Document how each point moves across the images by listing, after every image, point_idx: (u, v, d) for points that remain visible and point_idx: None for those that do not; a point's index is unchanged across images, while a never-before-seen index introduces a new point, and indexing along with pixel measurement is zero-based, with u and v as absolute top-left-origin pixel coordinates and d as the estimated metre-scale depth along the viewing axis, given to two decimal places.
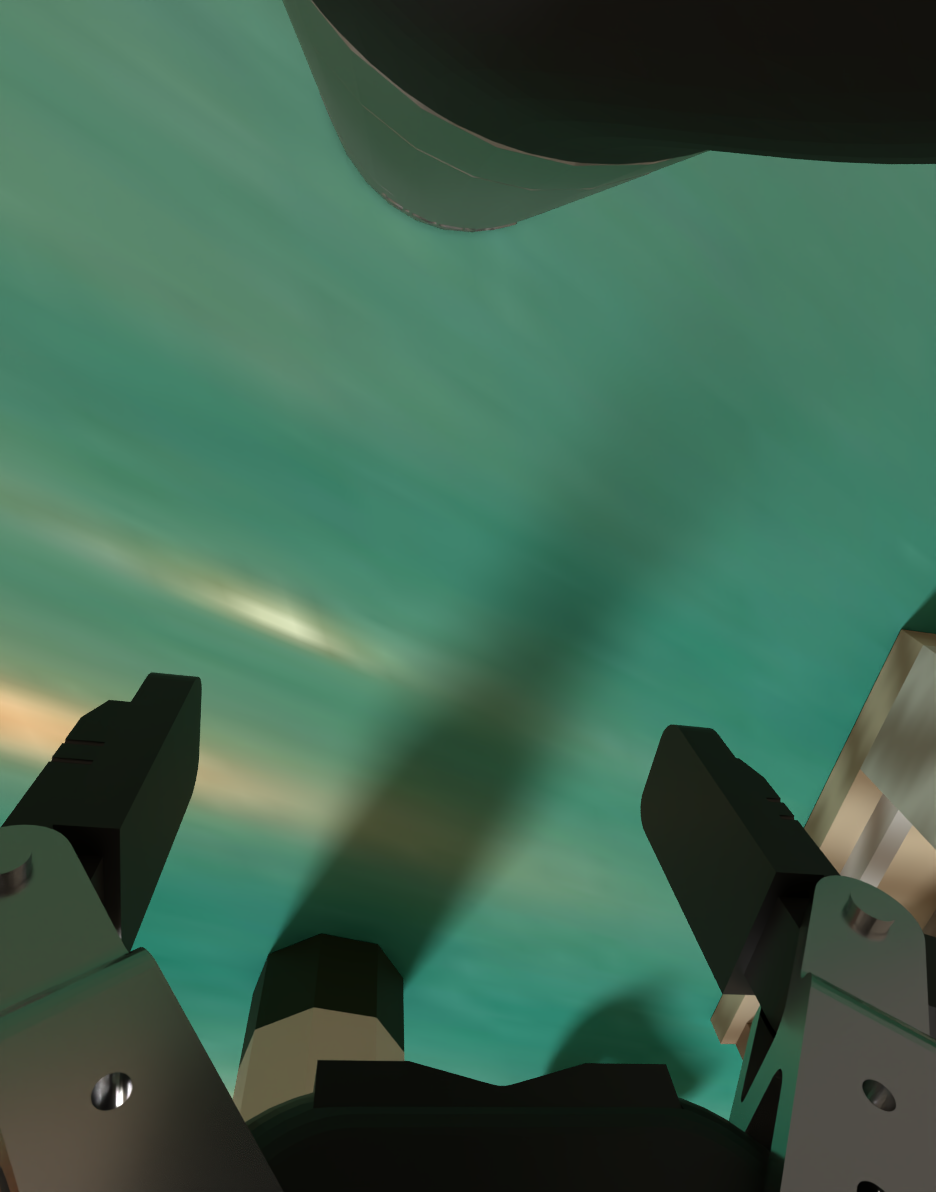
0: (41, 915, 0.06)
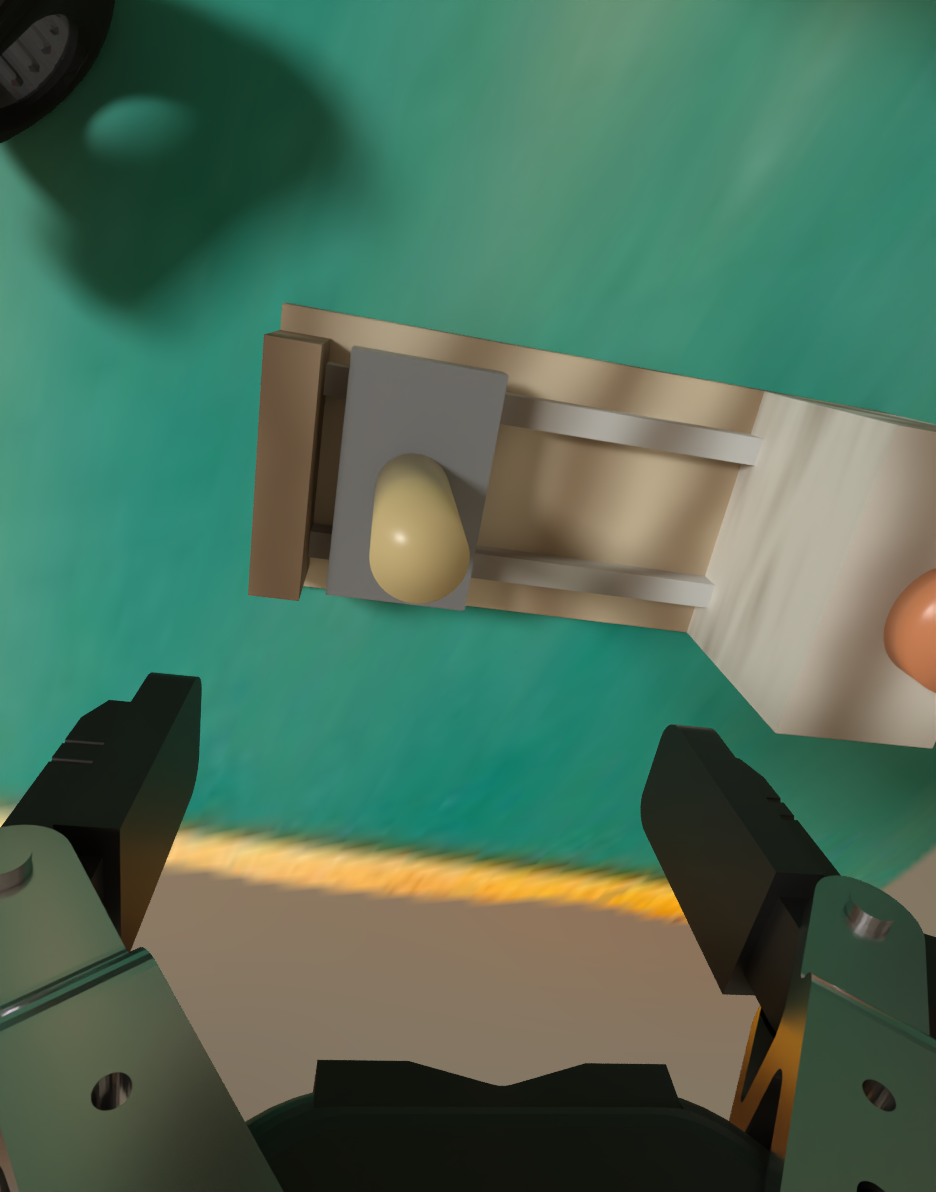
0: (41, 915, 0.06)
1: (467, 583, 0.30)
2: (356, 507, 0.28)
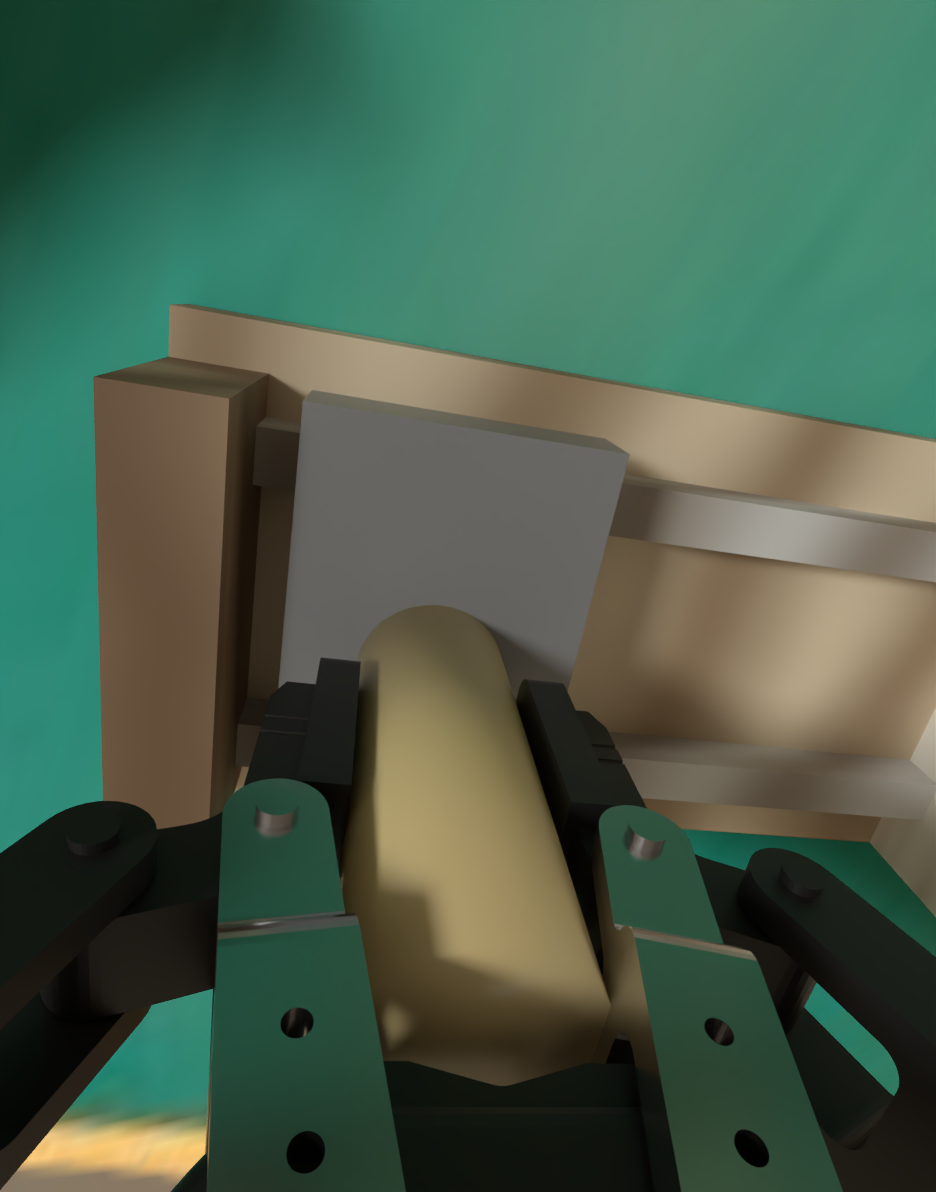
0: (293, 859, 0.08)
1: None
2: None
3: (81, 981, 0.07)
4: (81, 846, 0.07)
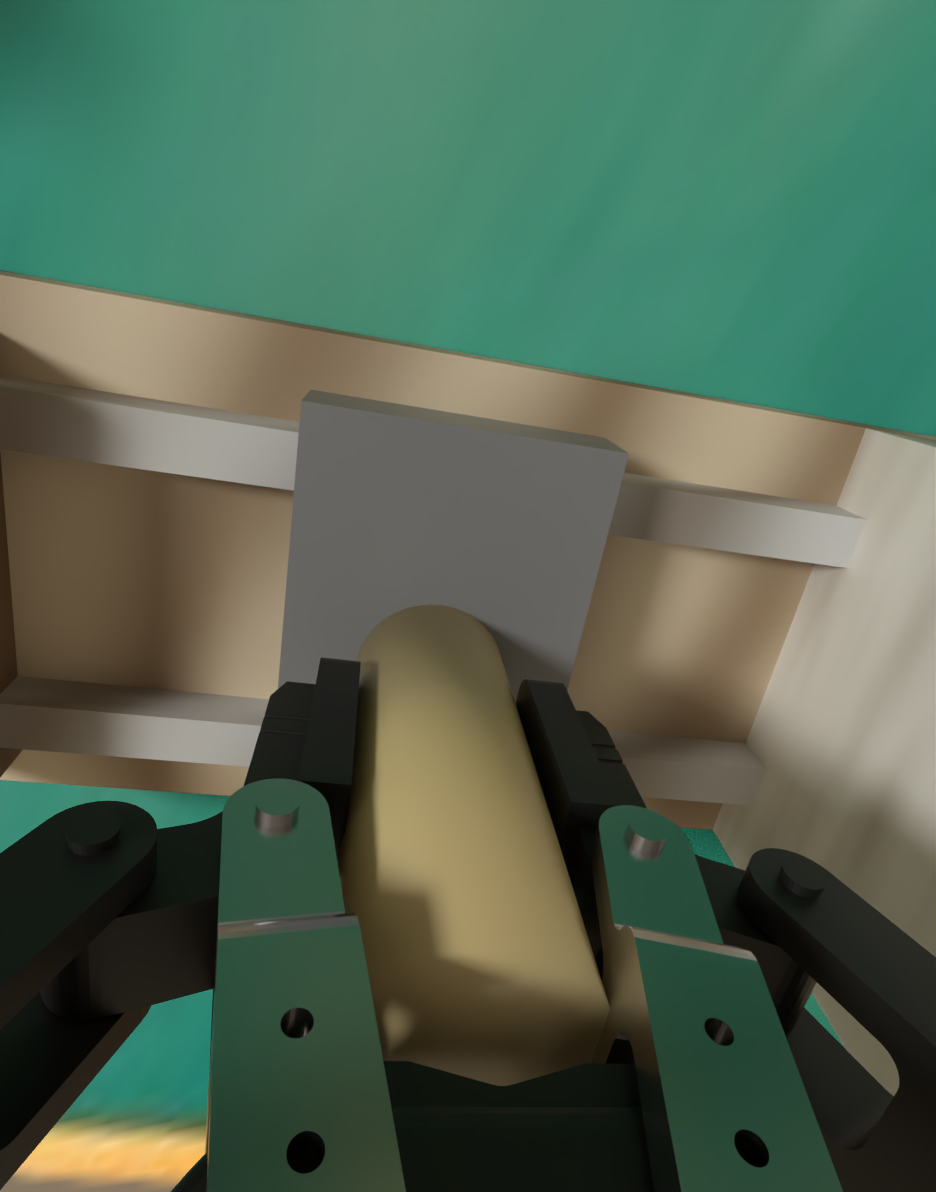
0: (293, 859, 0.08)
1: None
2: None
3: (81, 981, 0.07)
4: (81, 846, 0.07)
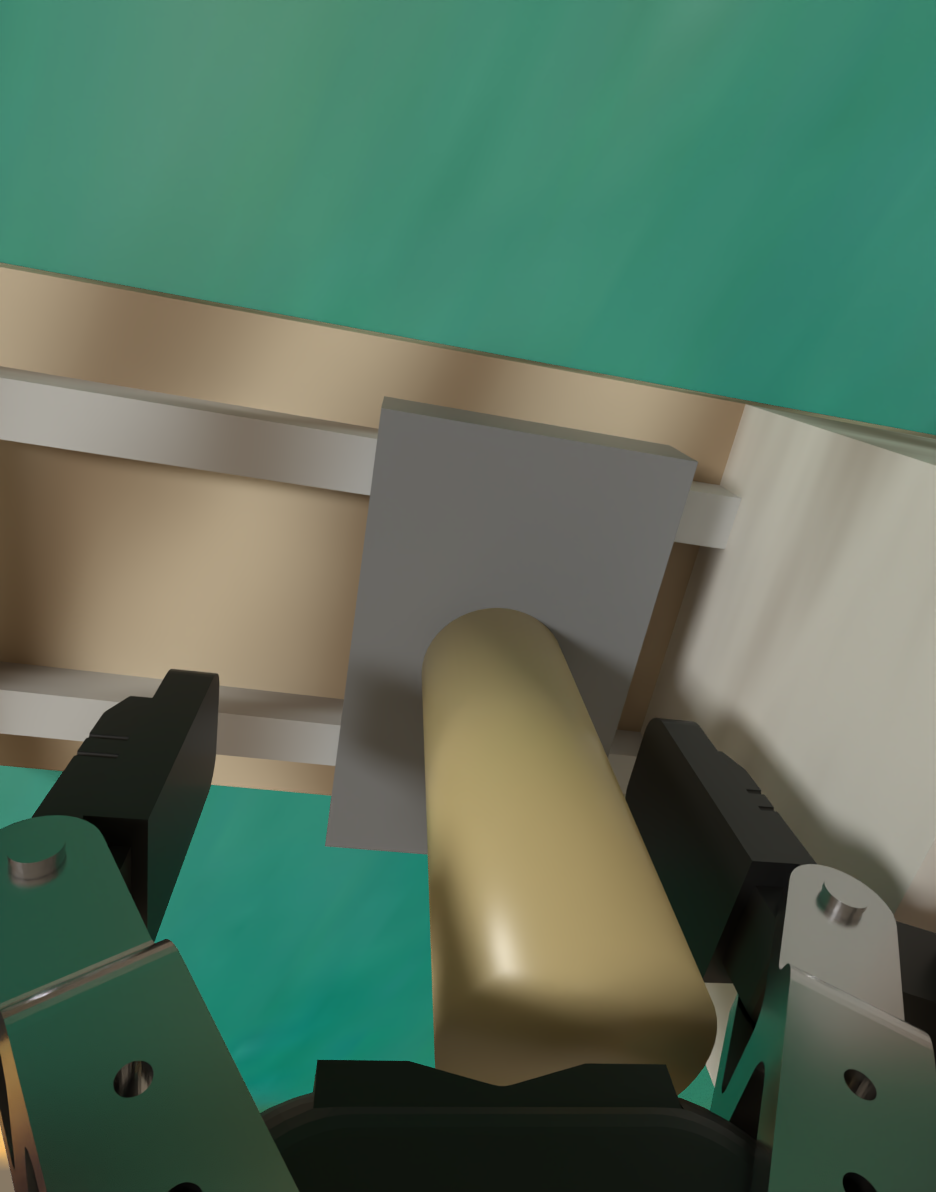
0: (72, 904, 0.07)
1: None
2: (384, 703, 0.15)
3: None
4: None
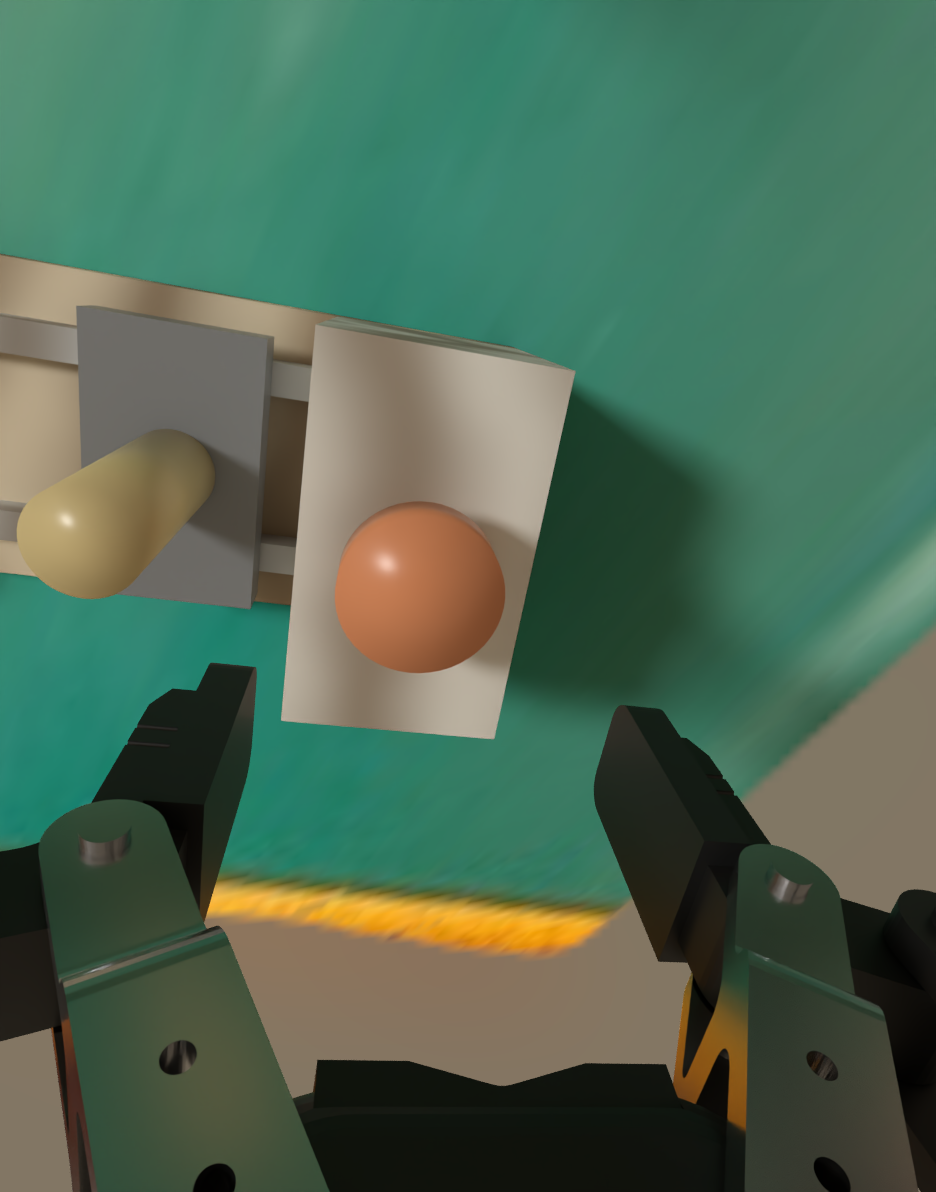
0: (134, 885, 0.07)
1: (249, 577, 0.27)
2: None
3: None
4: None
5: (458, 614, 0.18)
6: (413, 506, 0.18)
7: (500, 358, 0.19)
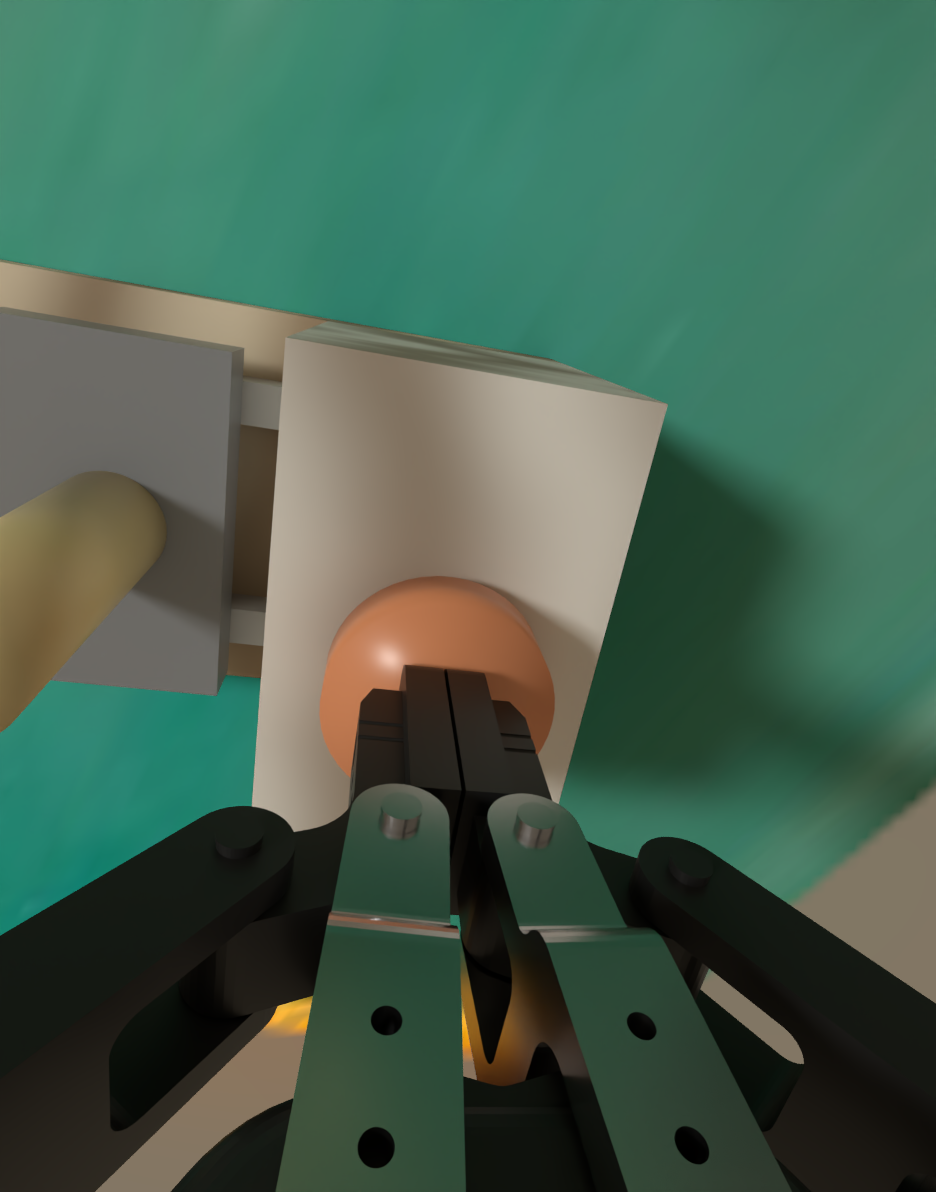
0: (408, 863, 0.08)
1: (215, 657, 0.21)
2: None
3: (212, 978, 0.08)
4: (230, 851, 0.07)
5: None
6: (428, 585, 0.13)
7: (559, 386, 0.13)
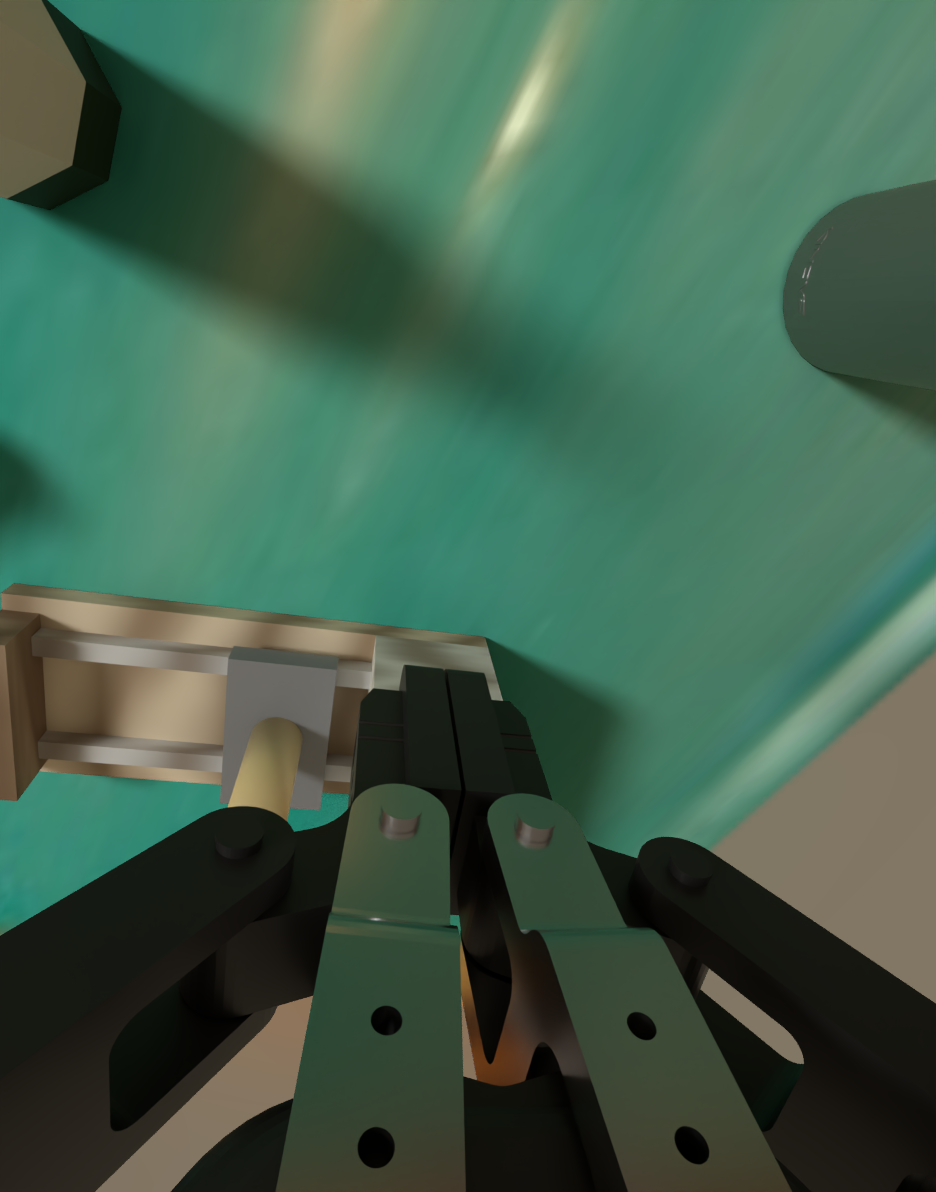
0: (407, 863, 0.08)
1: (320, 793, 0.43)
2: (238, 750, 0.41)
3: (212, 978, 0.08)
4: (230, 851, 0.07)
5: None
6: None
7: None
